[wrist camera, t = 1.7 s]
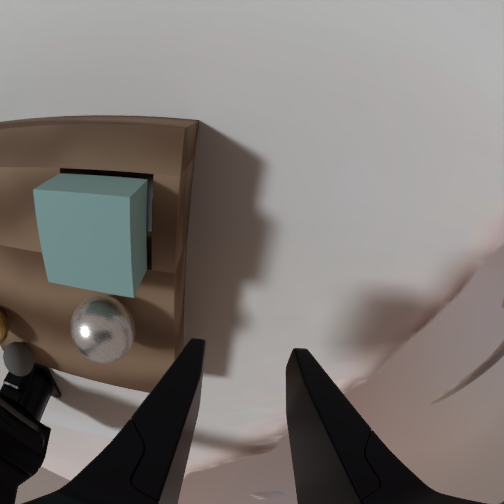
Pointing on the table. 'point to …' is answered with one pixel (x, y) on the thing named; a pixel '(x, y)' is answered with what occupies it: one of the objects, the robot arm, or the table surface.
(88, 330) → the steel ball
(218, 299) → the table surface
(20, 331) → the board
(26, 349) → the black rubber ball
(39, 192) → the teal block
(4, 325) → the brass ball
